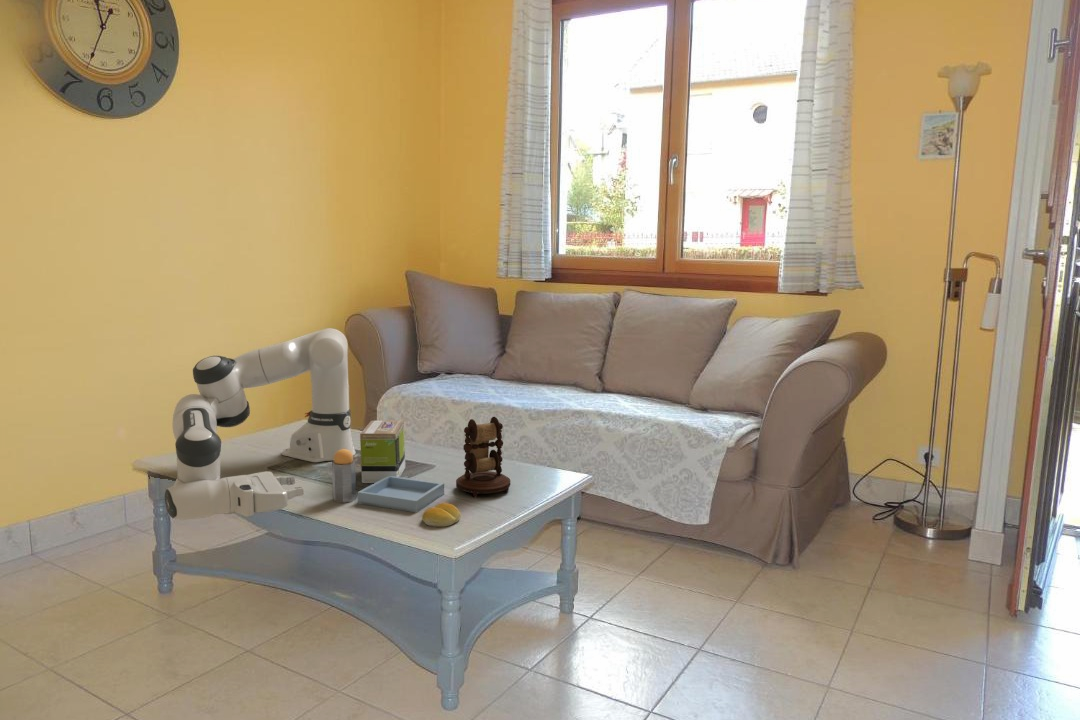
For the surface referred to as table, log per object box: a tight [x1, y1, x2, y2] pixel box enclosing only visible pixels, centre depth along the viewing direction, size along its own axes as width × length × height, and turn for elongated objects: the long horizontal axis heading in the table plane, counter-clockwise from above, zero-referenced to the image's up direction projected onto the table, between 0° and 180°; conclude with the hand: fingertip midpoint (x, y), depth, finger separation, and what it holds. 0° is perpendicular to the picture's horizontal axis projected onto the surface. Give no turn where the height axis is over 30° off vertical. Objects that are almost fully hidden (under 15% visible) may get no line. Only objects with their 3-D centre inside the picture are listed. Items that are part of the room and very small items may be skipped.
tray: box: [357, 476, 445, 513], centre depth 200 cm, size 17×15×3 cm
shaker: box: [331, 459, 357, 504], centre depth 198 cm, size 5×5×10 cm
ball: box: [333, 449, 354, 465], centre depth 197 cm, size 5×5×5 cm
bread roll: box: [421, 502, 462, 528], centre depth 185 cm, size 8×9×4 cm
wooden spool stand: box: [455, 416, 511, 498], centre depth 207 cm, size 15×15×20 cm
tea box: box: [359, 420, 406, 484], centre depth 218 cm, size 15×10×15 cm, turn 1°
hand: (298, 485), depth 193 cm, fingers open, 8 cm apart
